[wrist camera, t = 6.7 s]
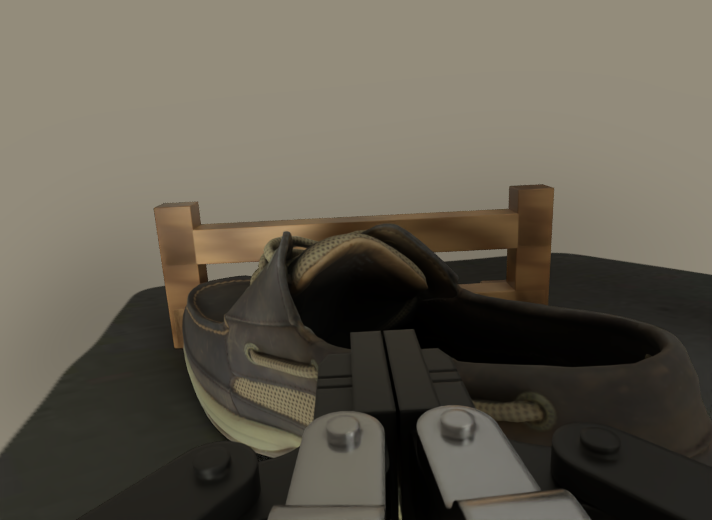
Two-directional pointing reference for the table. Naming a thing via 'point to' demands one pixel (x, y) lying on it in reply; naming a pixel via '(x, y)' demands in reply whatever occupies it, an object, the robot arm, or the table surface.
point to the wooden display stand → (436, 230)
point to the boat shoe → (426, 346)
